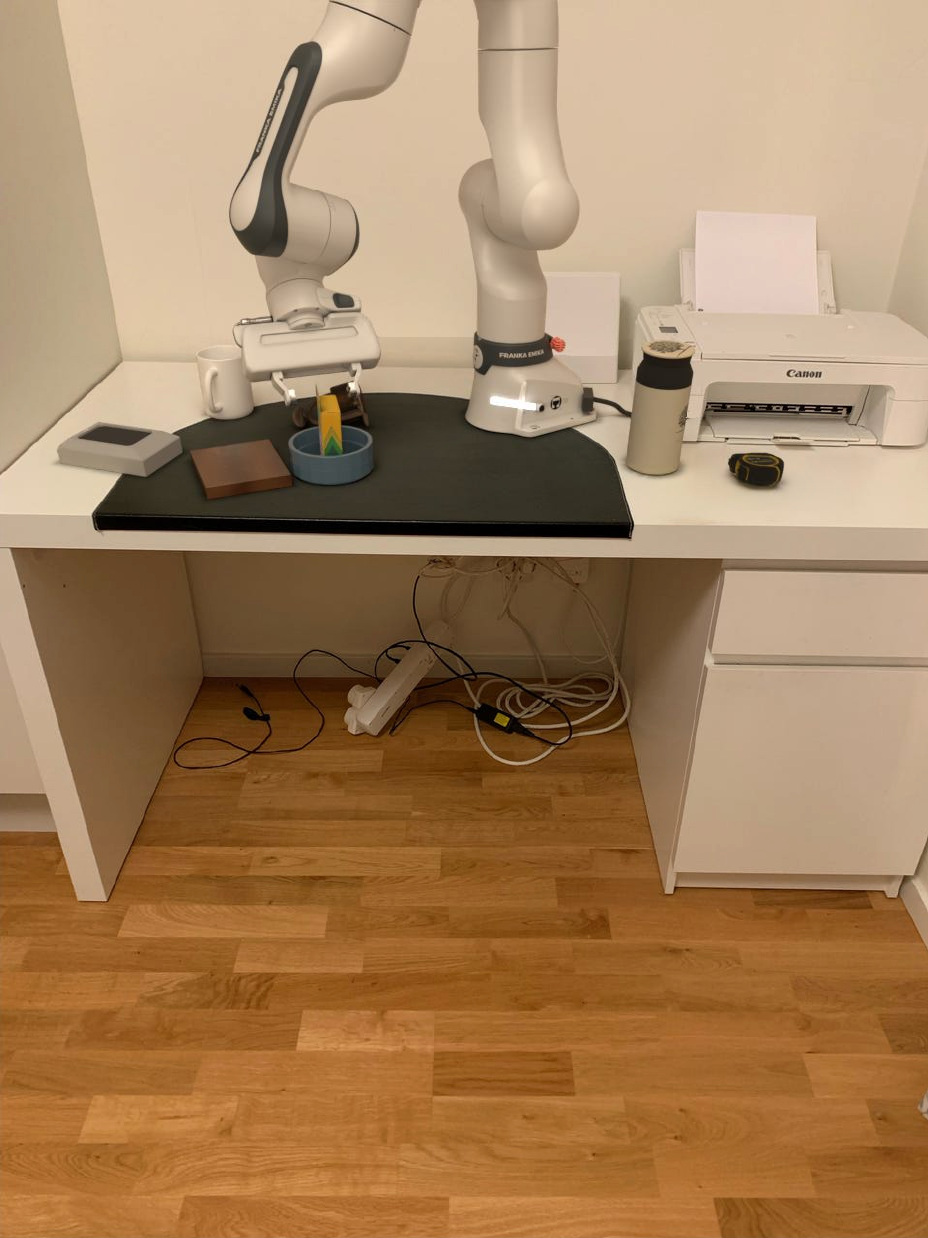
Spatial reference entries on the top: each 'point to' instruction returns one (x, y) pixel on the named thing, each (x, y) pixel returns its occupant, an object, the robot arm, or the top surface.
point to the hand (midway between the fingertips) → (323, 399)
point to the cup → (224, 382)
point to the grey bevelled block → (120, 449)
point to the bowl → (331, 457)
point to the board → (240, 469)
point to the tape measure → (757, 468)
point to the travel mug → (660, 407)
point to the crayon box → (329, 425)
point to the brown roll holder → (348, 408)
